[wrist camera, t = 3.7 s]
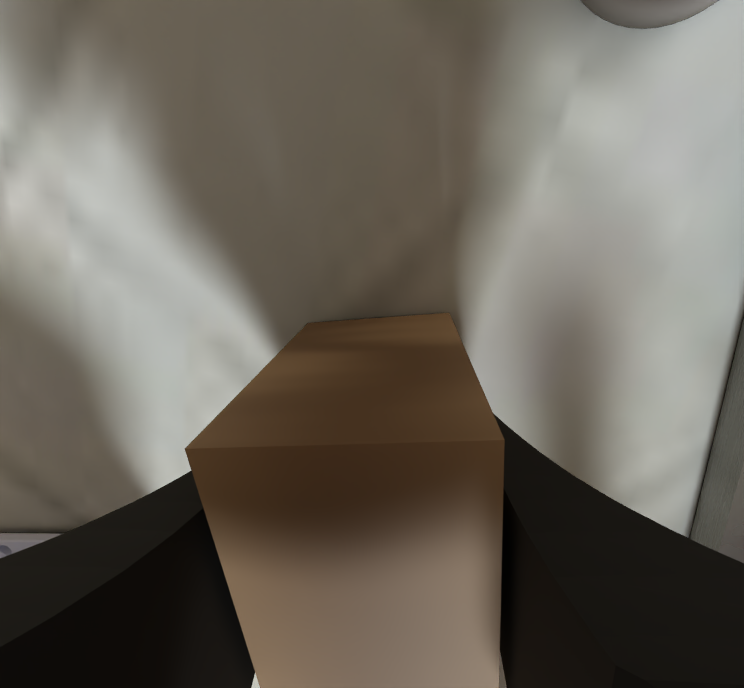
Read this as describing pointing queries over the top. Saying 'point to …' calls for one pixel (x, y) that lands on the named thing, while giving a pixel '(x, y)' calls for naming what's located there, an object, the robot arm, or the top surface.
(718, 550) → the grey slotted tray
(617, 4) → the stand
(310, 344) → the plug block
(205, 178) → the top surface
